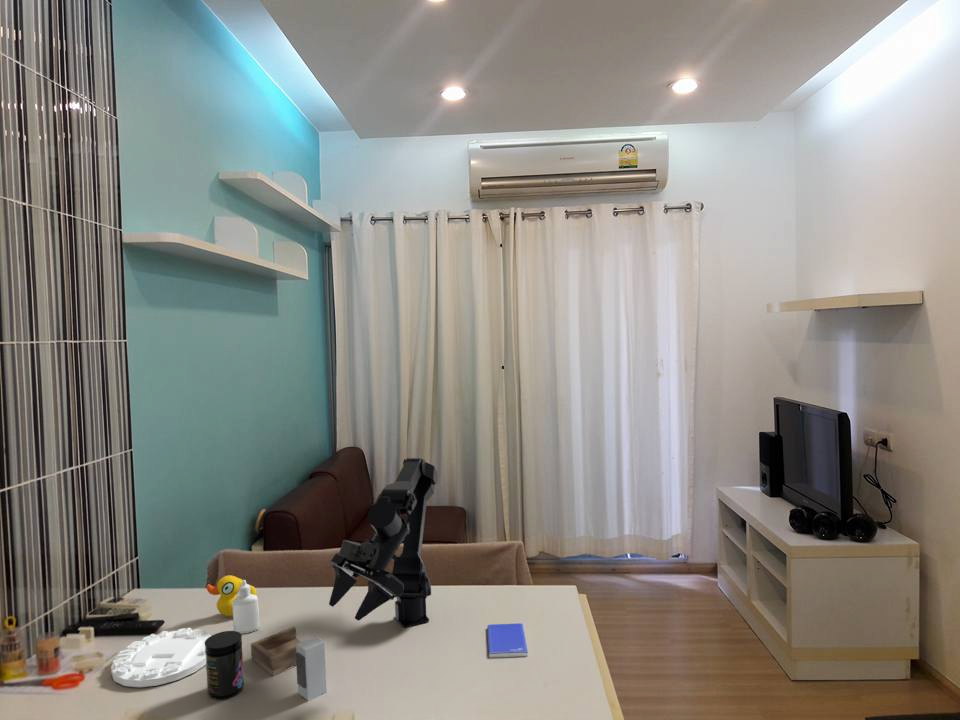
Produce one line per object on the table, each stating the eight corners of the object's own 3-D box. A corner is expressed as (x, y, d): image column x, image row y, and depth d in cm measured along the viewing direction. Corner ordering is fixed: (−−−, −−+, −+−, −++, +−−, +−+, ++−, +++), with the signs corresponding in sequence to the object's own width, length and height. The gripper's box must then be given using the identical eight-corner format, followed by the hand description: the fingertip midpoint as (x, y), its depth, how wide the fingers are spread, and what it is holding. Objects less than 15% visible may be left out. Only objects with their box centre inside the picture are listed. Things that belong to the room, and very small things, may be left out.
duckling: (208, 625, 150) (206, 584, 150) (208, 615, 155) (206, 576, 155) (258, 614, 155) (256, 575, 154) (256, 605, 160) (254, 567, 159)
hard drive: (527, 651, 132) (522, 622, 144) (489, 652, 132) (487, 624, 144) (528, 658, 132) (522, 629, 144) (489, 659, 132) (487, 630, 144)
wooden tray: (294, 641, 141) (293, 626, 141) (316, 656, 134) (315, 640, 134) (251, 659, 134) (250, 643, 134) (273, 676, 127) (272, 659, 127)
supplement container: (231, 702, 119) (228, 649, 118) (199, 699, 120) (196, 647, 119) (251, 682, 125) (248, 631, 125) (220, 679, 127) (217, 629, 126)
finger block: (317, 685, 124) (314, 636, 123) (326, 692, 121) (324, 642, 121) (296, 694, 121) (294, 644, 120) (306, 702, 118) (303, 651, 118)
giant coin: (162, 699, 122) (161, 684, 121) (89, 681, 128) (88, 667, 128) (235, 647, 140) (234, 634, 140) (168, 633, 147) (167, 621, 147)
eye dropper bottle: (252, 635, 144) (249, 585, 144) (230, 634, 145) (227, 583, 145) (262, 626, 149) (260, 577, 148) (241, 625, 150) (238, 576, 149)
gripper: (336, 515, 135) (292, 581, 128) (389, 533, 122) (343, 608, 115) (368, 540, 141) (327, 605, 134) (422, 561, 128) (380, 634, 121)
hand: (343, 612), depth 126 cm, fingers open, 9 cm apart
